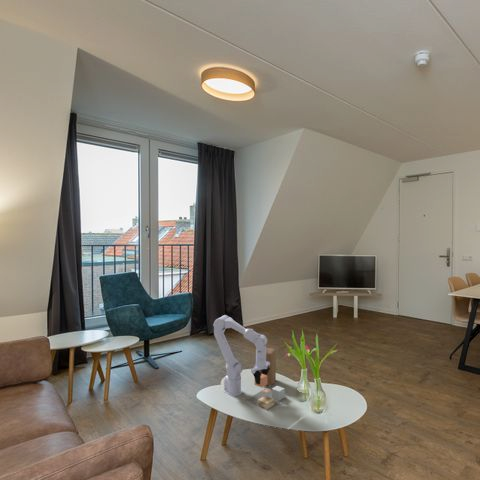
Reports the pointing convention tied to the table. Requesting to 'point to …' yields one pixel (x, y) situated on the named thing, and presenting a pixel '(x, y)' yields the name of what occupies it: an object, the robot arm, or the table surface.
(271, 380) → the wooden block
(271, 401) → the maple block
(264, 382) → the terracotta cube
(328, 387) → the table surface
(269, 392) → the grey square mat
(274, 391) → the blue-grey cube
